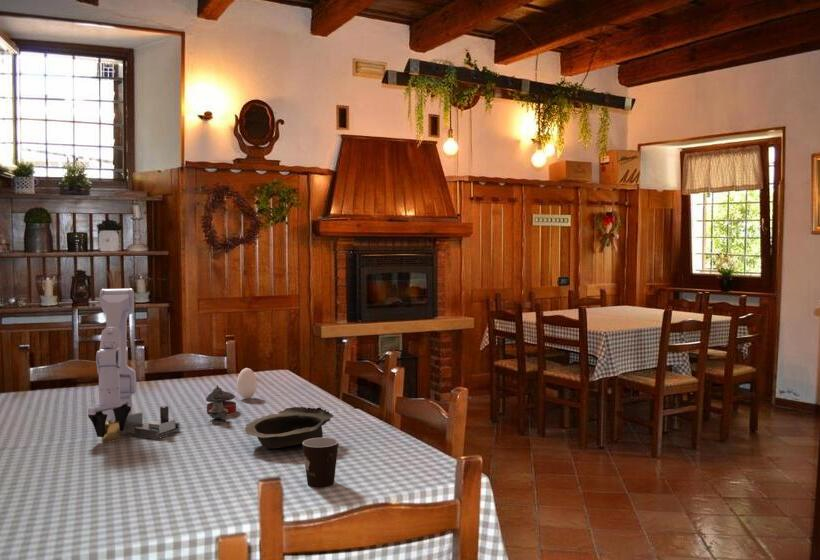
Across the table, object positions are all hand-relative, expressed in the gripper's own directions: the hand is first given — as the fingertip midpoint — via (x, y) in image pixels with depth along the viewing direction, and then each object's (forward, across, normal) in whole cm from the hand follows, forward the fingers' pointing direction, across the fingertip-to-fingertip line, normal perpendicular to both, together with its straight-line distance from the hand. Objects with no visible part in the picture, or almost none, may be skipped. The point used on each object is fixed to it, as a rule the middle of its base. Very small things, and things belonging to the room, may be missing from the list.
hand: (110, 433), depth 210 cm
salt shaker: (+2, +30, -16) cm, 34 cm away
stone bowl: (+2, +14, -53) cm, 55 cm away
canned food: (+2, +41, -9) cm, 42 cm away
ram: (0, +10, -11) cm, 15 cm away
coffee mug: (+2, -13, -79) cm, 80 cm away
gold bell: (+2, 0, 0) cm, 2 cm away
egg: (+2, +63, -4) cm, 63 cm away
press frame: (+2, +10, -4) cm, 11 cm away
